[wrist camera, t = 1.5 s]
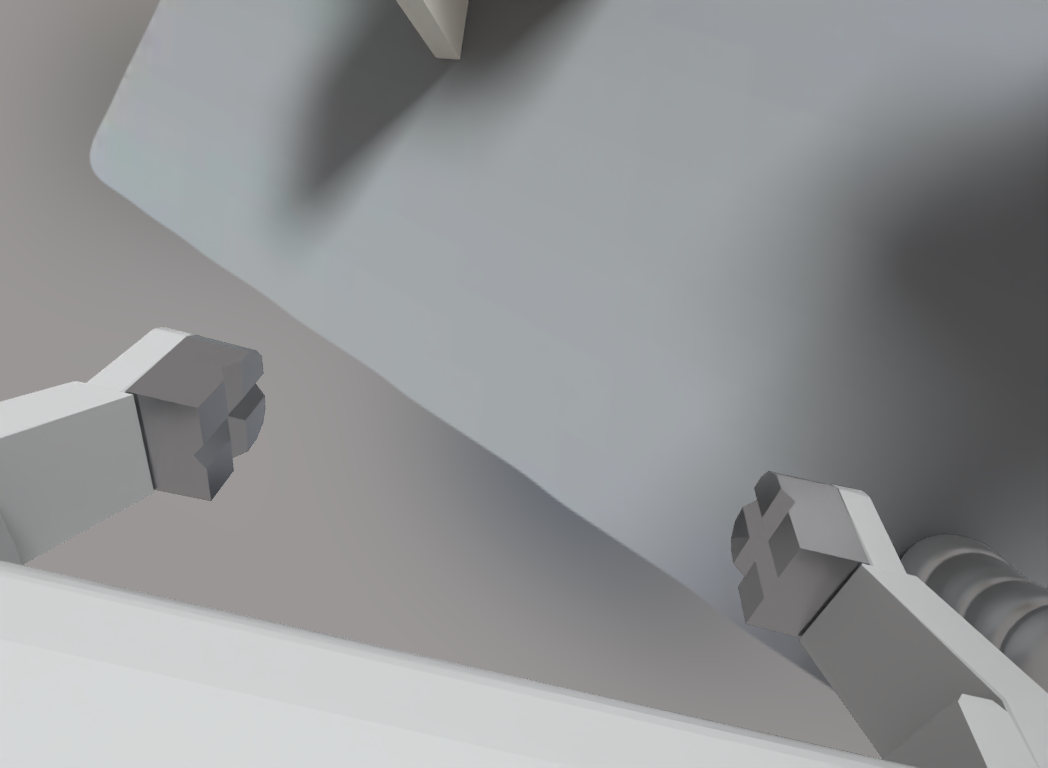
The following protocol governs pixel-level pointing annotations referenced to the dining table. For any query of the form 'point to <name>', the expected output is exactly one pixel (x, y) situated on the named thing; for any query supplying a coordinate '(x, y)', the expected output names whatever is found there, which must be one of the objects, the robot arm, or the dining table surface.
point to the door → (438, 24)
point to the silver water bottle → (987, 597)
